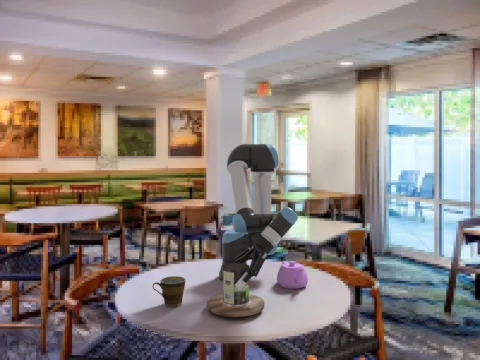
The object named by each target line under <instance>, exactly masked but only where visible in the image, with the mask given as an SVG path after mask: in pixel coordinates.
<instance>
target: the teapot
mask: <svg viewBox="0 0 480 360" xmlns="http://www.w3.org/2000/svg"><path fill="white" fill-rule="evenodd" d="M276 282H277V283H278V285H279V286H280V287H282V288H283V289H288V290H289V289H290V290H293V289H295V290H296V289H301V288H306V286H307V285H308V283H309V278H308V274H307V271H306V270H305V267H304V265H303V264H300V263H298V262H296V261H294V260H290V261H282V264H281V265H280V267H279V269H278V271H277V276H276Z"/></svg>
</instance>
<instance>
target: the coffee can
mask: <svg viewBox="0 0 480 360" xmlns="http://www.w3.org/2000/svg"><path fill="white" fill-rule="evenodd" d="M249 267H250V264H248V263H247V264H244V263H228V264H224V265H223V266H222V268H223V280H222V294H223V304H225V305H227V306H231V307H240V306H245V305H247V304H248V303H249V294H250V280H249V281H248V282H247V283H246V284H245V285H244V286H243V288H242V289H241V290H239V289H238V288H237V287H236V286H235V284H236V283H237V282H238V281H239V279H240V278H241V277H242V276H243V275H244V274H245V272H246V271H247V270H249ZM247 273H248V272H247Z"/></svg>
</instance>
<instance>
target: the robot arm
mask: <svg viewBox="0 0 480 360" xmlns="http://www.w3.org/2000/svg"><path fill="white" fill-rule="evenodd" d="M278 167H279V154H278V151H277V148H276V147H275V145H274V144H271V143H270V144H269V143H241V144H239V145H237V146H236V147H234V148H233V149H232V150H231V152H230V154H229V155H228V158H227V161H226V168H227V172H228V173H229V174H230V180H231V186H232V193H233V194H232V195H233V200H234V206H235V214H234V215H233V216H232V220H231V221H232V228H231V229H229V230H228V229H227V230H226V231H224V232H223V234H222V240H221V243H222V260H221V261H222V263H221V264H220V265H221V266H220V269H219V272H218V278H219V280H220V281H223V268H222V266H223V265H224V264H228V263H244V264H247V265H248V263H247V262H248V261H250V264H249V270H247V271H246V272H245V274H244V275H243V276H242V277H241V278H240V279H239V281H238V282H237V283H236V284H235V286H236V287H237V288H238V289H239V290H241V289H242V288H243V286H244V285H245V284H246V283H247V282H248V281H249V282H250V280H251V278H253V277H254V278H256V277H257V276H258V275H259V273H260V272H261V269H262V267H263V265H264V263H265V262H266V260H267V258H268V256H270V255H274V254H275V253H276V251H277V249H278V244H279V243H280V242H281V240H282V239H283V238H284V236H285V235H286V234H287V233H288V232H289V231H290V230H291V228H292V227H293V226H295V224H296V223H297V222H298V219H299V216H298V214H297V212H295V211H294V210H293V209H292V208H290V207H288V206H283V208H281V209H280V210H279V212H277V213H272V175H273V174H274V173H275V170H276V169H277V168H278ZM249 169H250V173H251V174H252V175H253V198H252V193H251V188H250V183H249V176H248V172H247V171H248V170H249ZM247 272H248V273H247Z"/></svg>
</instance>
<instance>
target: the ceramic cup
mask: <svg viewBox="0 0 480 360" xmlns="http://www.w3.org/2000/svg"><path fill="white" fill-rule="evenodd" d="M155 285H158V286H159V287H160V289H161V291H162V292H160V291H159V290H158V289H156V288H155V287H154V286H155ZM151 287H152V290H154V291H156V293H158V294H159V295H161V297H162V298H163V301H164V306H165V307H166V306H167V307H166V308H170V307H172V308H178V307H180V306H182V304H183V297H184V291H185V287H186V278H185V277H183V276H166V277H163V278H161V279H160V281H159V282H153V284H152V286H151Z"/></svg>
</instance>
